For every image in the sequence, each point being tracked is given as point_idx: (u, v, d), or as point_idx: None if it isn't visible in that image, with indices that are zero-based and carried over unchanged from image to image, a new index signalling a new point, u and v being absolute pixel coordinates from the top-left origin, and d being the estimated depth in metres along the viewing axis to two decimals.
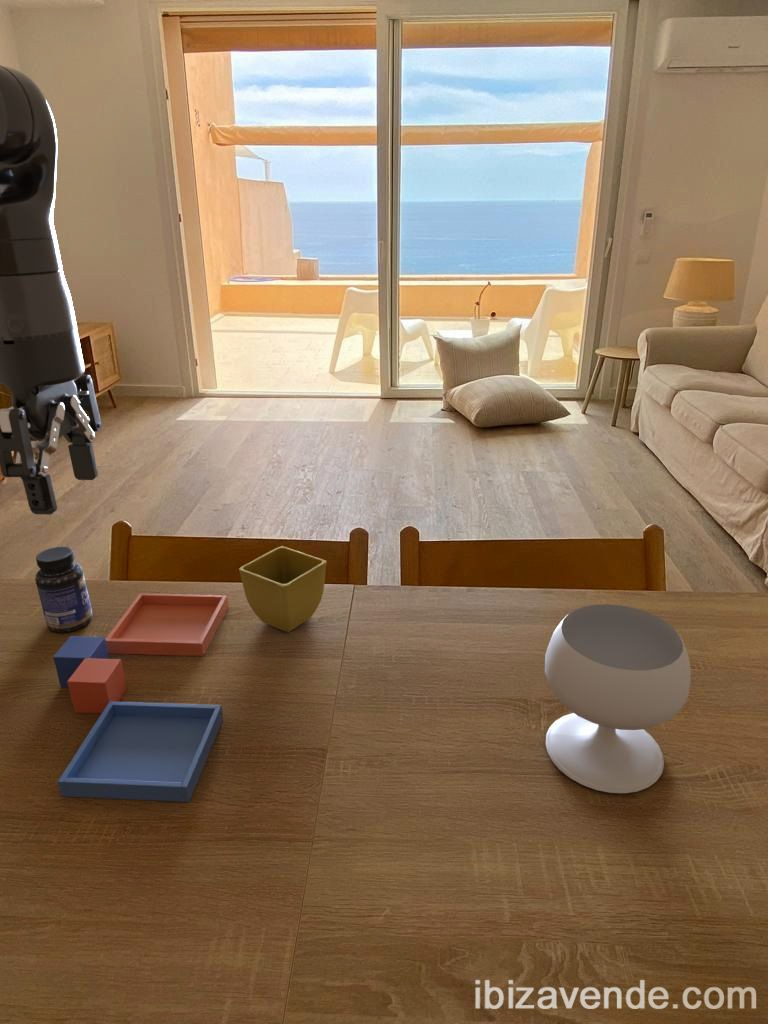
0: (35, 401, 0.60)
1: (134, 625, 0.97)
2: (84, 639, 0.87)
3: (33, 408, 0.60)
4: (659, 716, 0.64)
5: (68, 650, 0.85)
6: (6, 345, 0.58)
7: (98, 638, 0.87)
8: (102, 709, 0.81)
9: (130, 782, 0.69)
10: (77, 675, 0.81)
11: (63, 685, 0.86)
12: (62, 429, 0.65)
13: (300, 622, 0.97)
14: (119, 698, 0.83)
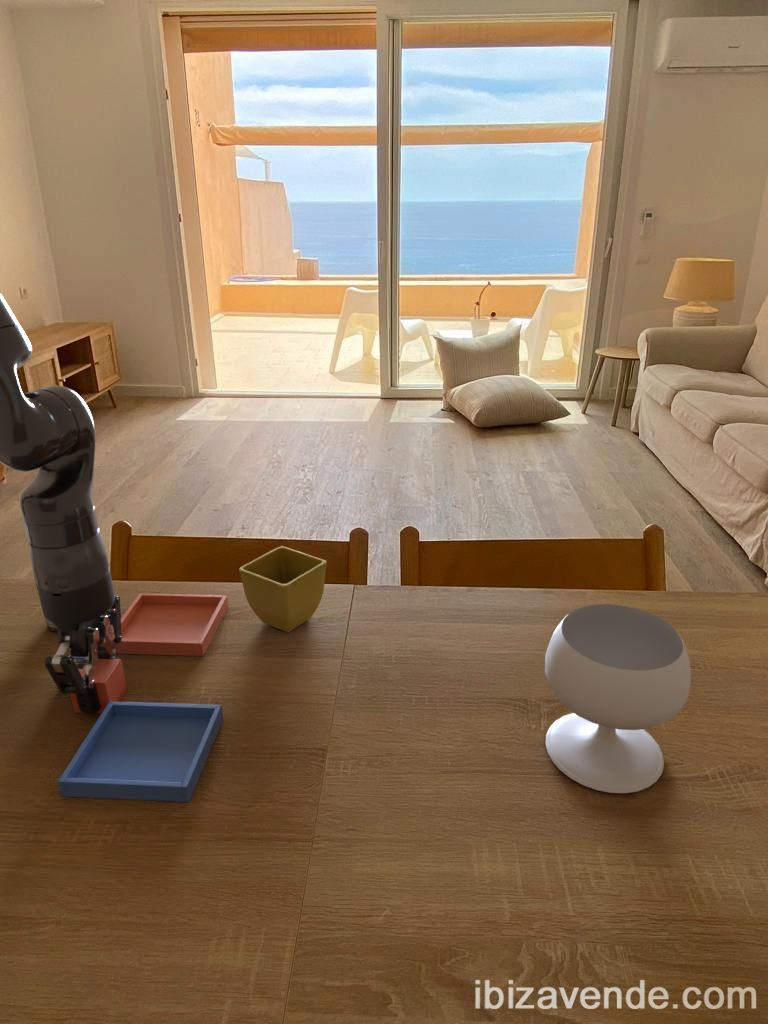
0: (76, 634, 0.75)
1: (134, 625, 0.97)
2: None
3: (75, 640, 0.75)
4: (659, 716, 0.64)
5: None
6: (54, 596, 0.73)
7: None
8: (102, 709, 0.81)
9: (130, 782, 0.69)
10: None
11: None
12: (96, 644, 0.80)
13: (300, 622, 0.97)
14: (119, 698, 0.83)
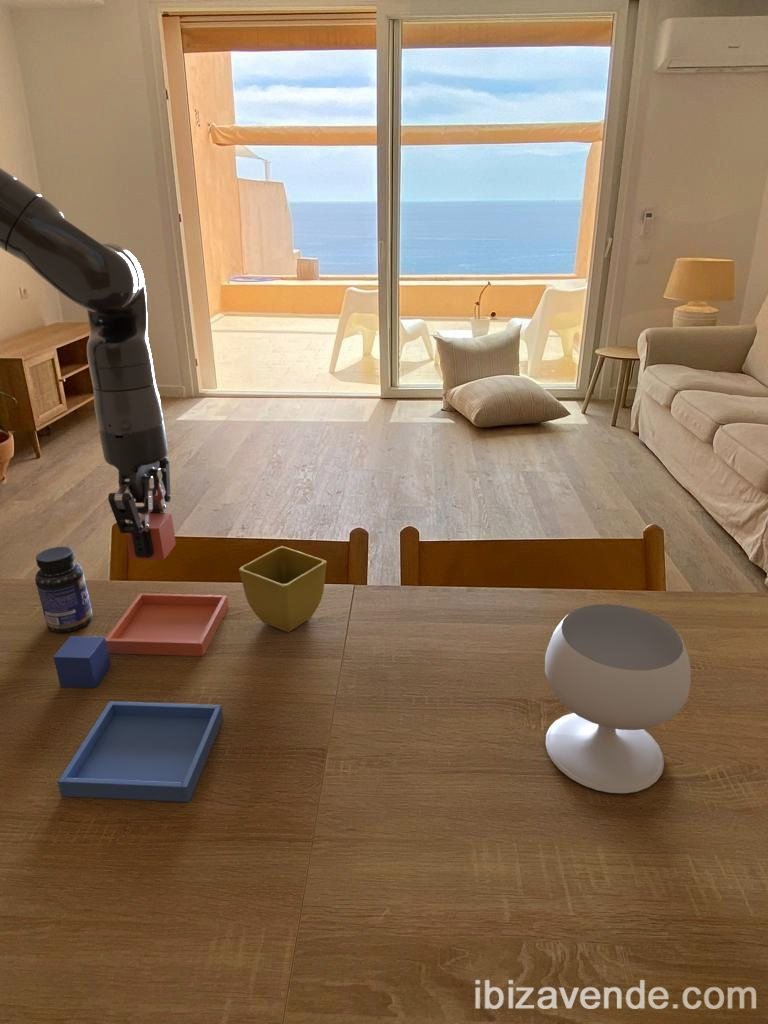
0: (135, 477, 0.83)
1: (134, 625, 0.97)
2: (84, 639, 0.87)
3: (134, 482, 0.83)
4: (659, 716, 0.64)
5: (68, 650, 0.85)
6: (117, 438, 0.81)
7: (98, 638, 0.87)
8: (155, 555, 0.89)
9: (130, 782, 0.69)
10: None
11: (63, 685, 0.86)
12: None
13: (300, 622, 0.97)
14: (170, 549, 0.91)
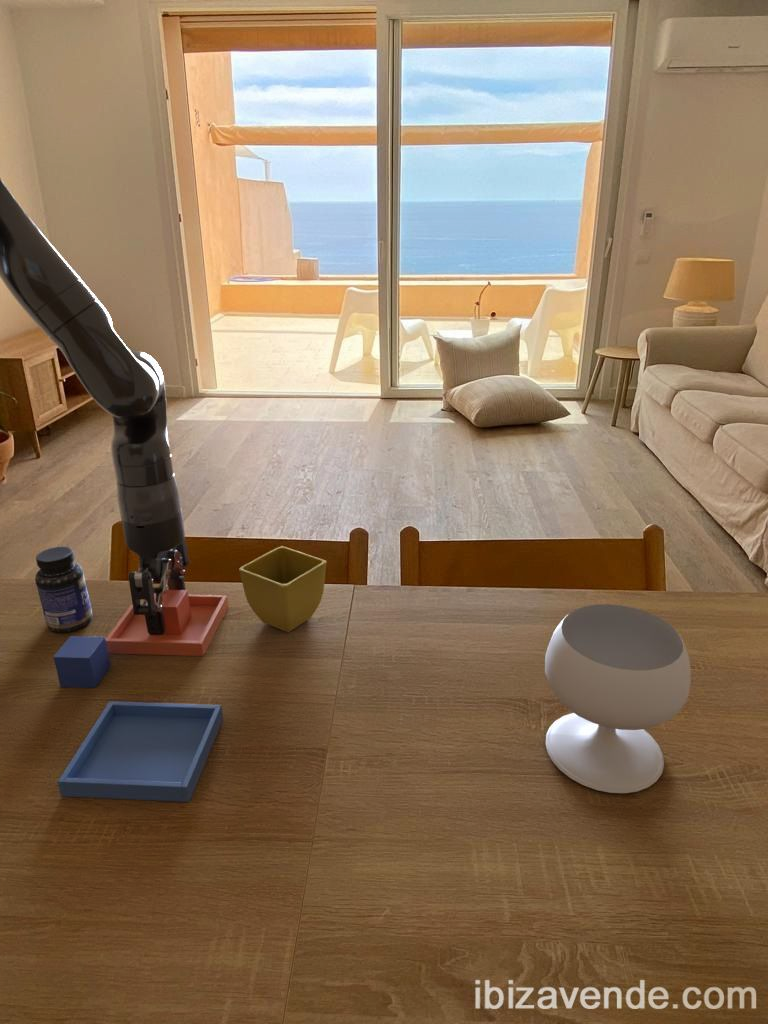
0: (155, 562, 0.89)
1: (134, 625, 0.97)
2: (84, 639, 0.87)
3: (154, 567, 0.89)
4: (659, 716, 0.64)
5: (68, 650, 0.85)
6: (138, 529, 0.87)
7: (98, 638, 0.87)
8: (173, 630, 0.95)
9: (130, 782, 0.69)
10: None
11: (63, 685, 0.86)
12: (168, 574, 0.93)
13: (300, 622, 0.97)
14: (186, 623, 0.97)
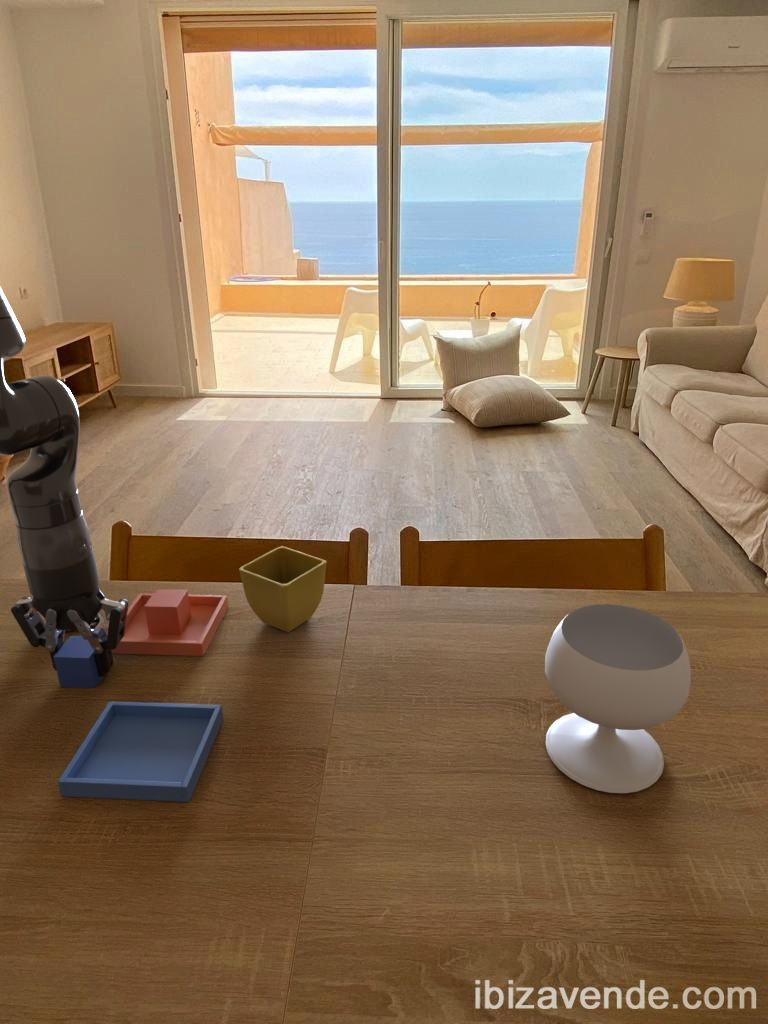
0: (34, 599, 0.82)
1: (134, 625, 0.97)
2: None
3: (32, 602, 0.82)
4: (659, 716, 0.64)
5: (68, 650, 0.85)
6: None
7: None
8: (173, 630, 0.95)
9: (130, 782, 0.69)
10: (152, 602, 0.94)
11: (63, 685, 0.86)
12: (66, 625, 0.83)
13: (300, 622, 0.97)
14: (186, 623, 0.97)
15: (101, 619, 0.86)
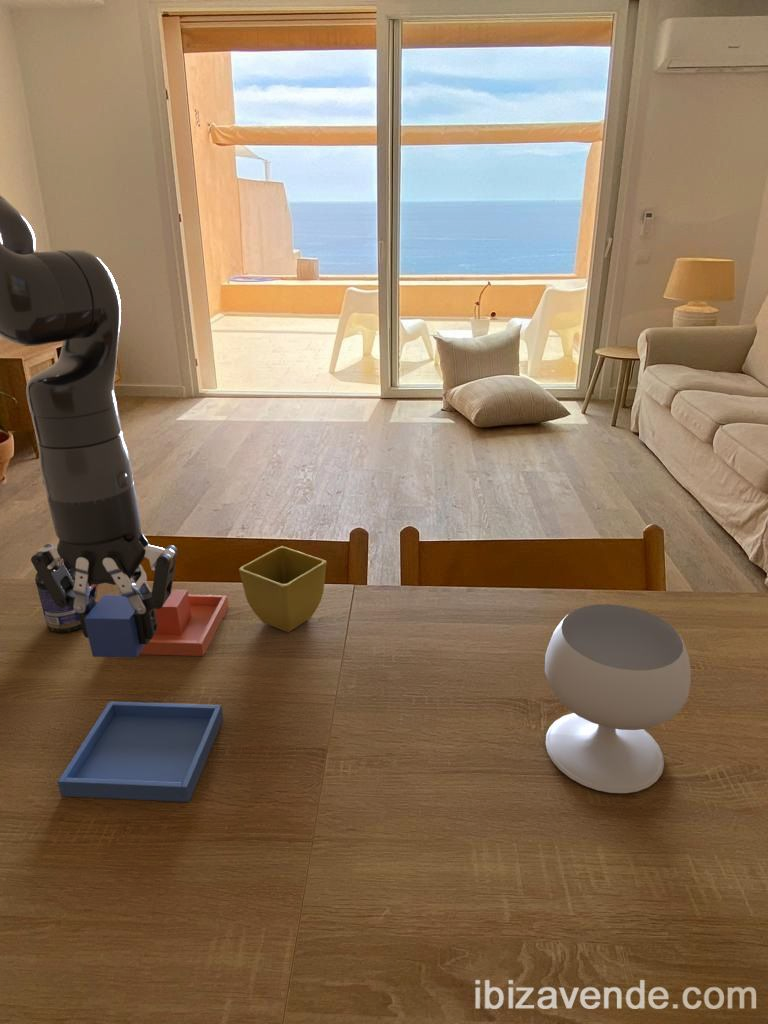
0: (61, 545, 0.65)
1: None
2: (121, 598, 0.71)
3: (58, 549, 0.66)
4: (659, 716, 0.64)
5: (102, 610, 0.68)
6: None
7: None
8: (173, 630, 0.95)
9: (130, 782, 0.69)
10: None
11: (96, 654, 0.69)
12: (101, 579, 0.66)
13: (300, 622, 0.97)
14: (186, 623, 0.97)
15: (143, 572, 0.69)
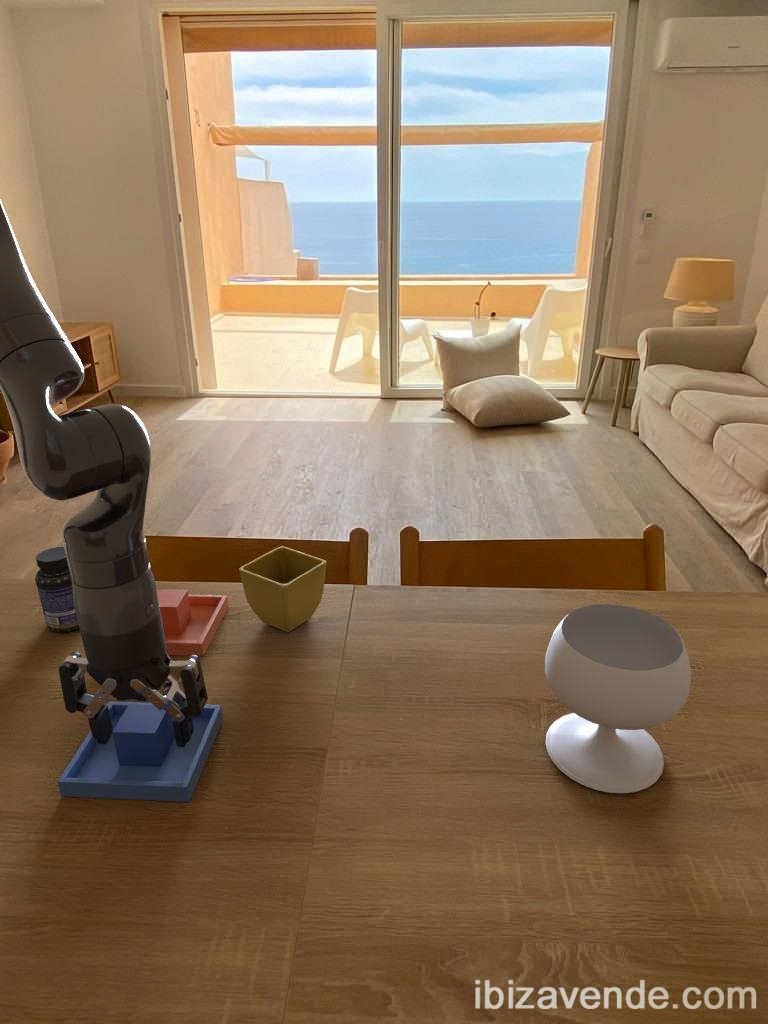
0: (90, 666, 0.69)
1: None
2: (146, 708, 0.74)
3: (88, 669, 0.70)
4: (659, 716, 0.64)
5: (128, 722, 0.72)
6: None
7: None
8: (173, 630, 0.95)
9: (130, 782, 0.69)
10: None
11: (123, 763, 0.73)
12: (127, 696, 0.70)
13: (300, 622, 0.97)
14: (186, 623, 0.97)
15: (173, 681, 0.72)
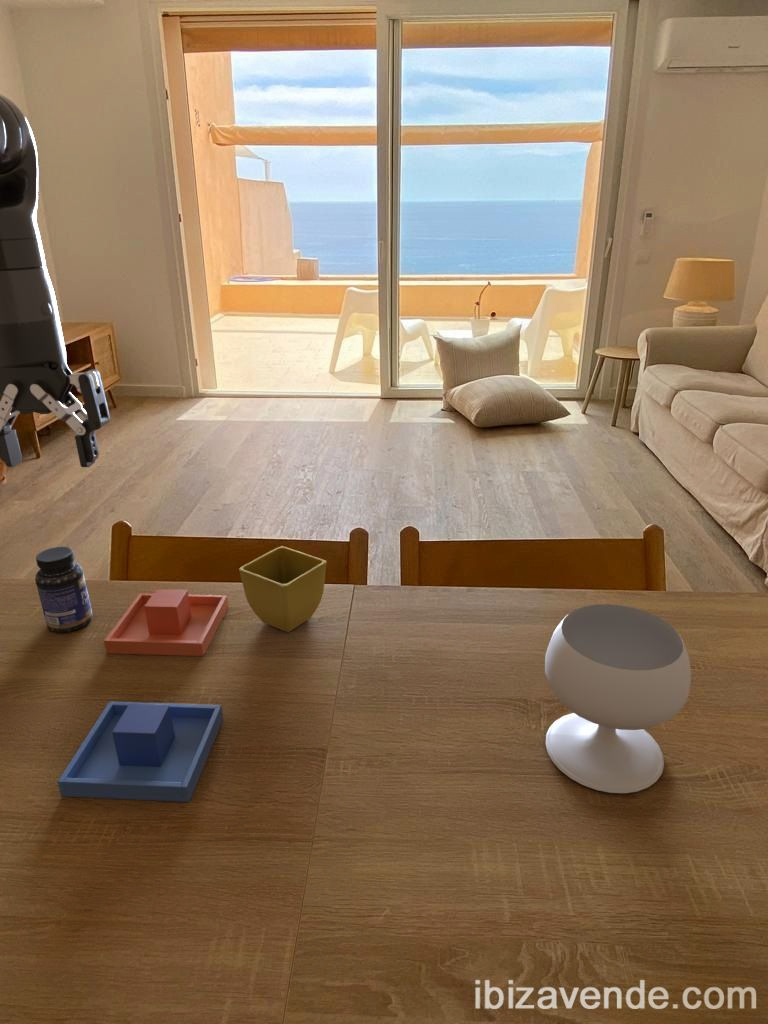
0: None
1: (134, 625, 0.97)
2: (146, 708, 0.74)
3: None
4: (659, 716, 0.64)
5: (128, 722, 0.72)
6: None
7: (162, 706, 0.75)
8: (173, 630, 0.95)
9: (130, 782, 0.69)
10: (152, 602, 0.94)
11: (123, 763, 0.73)
12: (30, 408, 0.73)
13: (300, 622, 0.97)
14: (186, 623, 0.97)
15: (76, 401, 0.75)
